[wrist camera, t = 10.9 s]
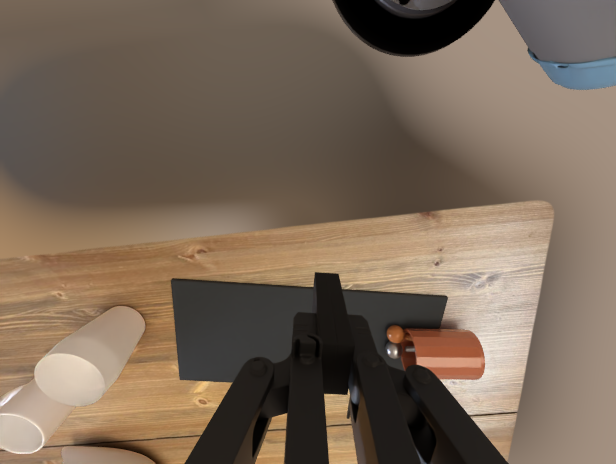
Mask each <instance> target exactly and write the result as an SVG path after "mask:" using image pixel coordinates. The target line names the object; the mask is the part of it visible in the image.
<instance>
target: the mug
mask: <svg viewBox="0 0 616 464" xmlns="http://www.w3.org/2000/svg"><path fill="white" fill-rule="evenodd" d="M6 402H7V403H6ZM5 403H6V404H5ZM75 407H76V406H69V405H65V404H62V403H59V402H57V401H55V400H53V399H51V398H50V397H48V396H47V395H46V394H45V393H44V392H43V391H42V390H41V389H40V388H39V386H38V385H37V383H36V380H35V377H34V378H33V379H32V380H31V381H30V382H29V383H28V384H25V385H22V386H19V387H17V388H14V389H12V390H10V391H9V392H7V393H5V394H4V395H2V396H1V397H0V448H2V449H4V450H7V451H9V452H13V453H18V454H29V453H33V452H36V451H38V450H39V449H41V448H42V447H43V446H44V444H45V443H46V442H47V441H48V440H49V438H50V437H51V436H52V435H53V434H54V433H55V431H56V430H57V429H58V428H59V427H60V425H61V424H62V423H63V422H64V421H65V419H66V418H67V417H68V416H69V415H70V413H71V412H72V411H73V410H74V409H75Z"/></svg>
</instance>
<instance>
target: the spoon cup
mask: <svg viewBox="0 0 616 464" xmlns="http://www.w3.org/2000/svg"><path fill="white" fill-rule="evenodd" d="M403 331H404V334H405V335H406V334H409V335H411V337H412V340H413V341H409V340H406V339H405V336H404V339H403V341H402V342H400V344H401V345H402V348H403V353H402V355H401V360H402V364H403V368H404V370H406V368H407V367H408V366H410V365H421V366H424V367H426V368H428V369H429V370H431V371H432V372H433V373H434V374H435V375H436V376H437V377H438V379H467V380H477V379H479V378H481V377H482V375H483V373H484V368H485V358H484V352H483V349H482V346H481V344H480V341H479V340H478V338H477V337H476V335H475V334H474V333H473V332H471V331H469V330H464V329H408V328H406V329H404V330H403ZM406 346H414V347H415V352H406V351H405V347H406Z"/></svg>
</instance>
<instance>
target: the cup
mask: <svg viewBox="0 0 616 464" xmlns="http://www.w3.org/2000/svg"><path fill="white" fill-rule="evenodd" d="M144 331H145V321H144V319H143V317H142V316H141V314H140V313H138V312H137V311H136V310H134V309H132V308H130V307H127V306H116V307H113V308H111V309H109V310H108V311H106V312H105V313H103V314H101V315H100V316H98V317H97V318H95V319H94V320H92V321H91V322H89V323H87V324H86V325H84V326H83V327H81V328H80V329H78V330H77V331H75V332H74V333H72V334H70V335H69V336H67V337H66V338H64V339H63V340H61V341H60V342H59V343H58V344H56V345H55V346H54V347H53V348H52V349H51V350H50V351H49V352H48V353H47V354H46V355H45V356H44V357H43V358H42V359H41V360H40V361H39V362H38V363H37V365H36V367H35V371H34V376H35V380H36V383H37V385H38V386H39V388H40V389H41V390H42V391H43V392H44V393H45V394H46V395H47V396H48V397H50V398H51V399H53V400H55V401H57V402H59V403H62V404H65V405H69V406H87V405H90V404H93V403H95V402H97V401H98V400H99V399H100V398H101V397H102V396H103V395H104V393H105V392H106V391H107V390H108V389H109V388H110V386H111V385H112V384H113V383H114V382H115V381H116V380H117V378H118V377H119V375H120V373H121V372H122V370H123V368H124V366H125V365H126V363H127V361H128V359H129V358H130V356H131V354H132V352H133V350H134V349H135V347H136V345H137V343H138V342H139V340H140V338H141V336H142V334H143V333H144Z"/></svg>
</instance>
